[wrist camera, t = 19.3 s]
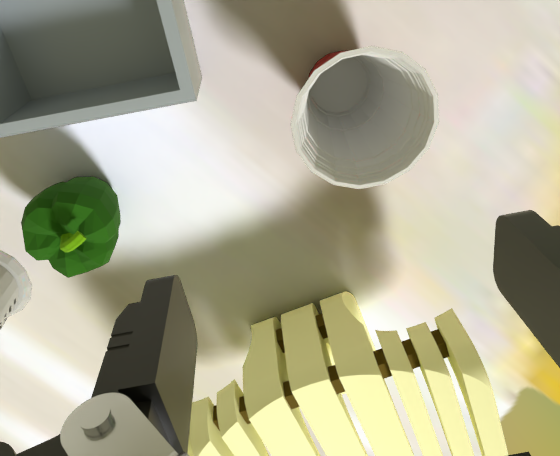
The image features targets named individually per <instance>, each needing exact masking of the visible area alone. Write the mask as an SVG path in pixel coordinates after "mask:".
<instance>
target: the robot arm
mask: <svg viewBox="0 0 560 456" xmlns="http://www.w3.org/2000/svg"><path fill="white" fill-rule="evenodd" d="M493 272H494V278H495V281H496V284H497V286H498V289H499V290H500V292H501V293H502V295H503V296H504V297H505V298H506V300H507V301H508V302H509V304H510V305H511V306H512V307H513V309H514V310H515V311H516V313H517V314H518V315H519V316H520V318H521V319H522V320H523V322H524V323H525V324H526V325H527V327H528V328H529V329H530V330H531V332H532V333H533V334H534V336H535V337H536V338H537V339H538V341H539V342H540V343H541V345H542V346H543V347H544V348H545V350H546V351H547V352H548V354H549V355H550V356H551V357H552V359H553V360H554V361H555V363H556V364H557V365H558V366H559V368H560V226H551V225H549V224H548V223H547V222H546V221H545V220H544V219H543V218H541V217H540V216H539V215H538V214H537V213H536V212H534V211H532V210H528V211H523V212H517V213H512V214H506V215H501V216H499V217H498V218H497V221H496V228H495V245H494V262H493ZM111 336H112V338H110V340H109V344H108V347H107V351H106V353H105V356H104V359H103V363H102V366H101V369H100V372H99V375H98V378H97V382H96V385H95V388H94V391H93V394H92V397H91V399H89V400H87V401H85V402H84V403H82V404H81V405H80V406H78V407H77V408H76V409H75V410H74V411H73V412H72V413H71V414H70V415H69V416H68V418H67V419H66V421H65V422H64V424H63V426H62V429H61V434H59V435H58V436H56V437H54V438H52V439H50V440H48V441H45V442H43V443H41V444H39V445H36V446H34V447H32V448H30V449H28V450H25V451H23V452H21V453H19V454H16V453H15V451H14V450H13V448H12V447H11V446H10V445H9V444H6V443H4V442H0V456H189V455H188V454H187V453H188V442H189V431H190V420H191V409H192V398H193V386H194V375H195V364H196V353H197V335H196V329H195V324H194V321H193V318H192V315H191V311H190V308H189V305H188V302H187V299H186V296H185V293H184V290H183V287H182V284H181V281H180V279H179V277H178V276H177V275H173V276H168V277H162V278H157V279H152V280H147V281H146V283H145V287H144V291H143V294H142V298H141V302H137V303H132V304H128V306H127V307H126V308H125V309H124V310H123V312H122V313H121V314H120V315H119V316H118V318H117V319H116V321H115V325H114V328H113V331H112V334H111ZM508 456H531V455H530V453H529V452H525V453H519V454H513V455H508Z"/></svg>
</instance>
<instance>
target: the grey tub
mask: <svg viewBox="0 0 560 456" xmlns="http://www.w3.org/2000/svg"><path fill="white" fill-rule="evenodd" d="M201 80H202V75H201V70H200V66H199V62H198V58H197V54H196V50H195V45H194V41H193V37H192V33H191V29H190V25H189V20H188V16H187V12H186V8H185V4H184V0H0V138H1V137H7V136H12V135H17V134H23V133H28V132H33V131H38V130H44V129H49V128H54V127H60V126H65V125H70V124H76V123H81V122H86V121H91V120H97V119H102V118H107V117H113V116H118V115H123V114H128V113H134V112H139V111H144V110H150V109H155V108H160V107H165V106H171V105H176V104H181V103H187V102H192V101H197V96H198V92H199V88H200V84H201Z"/></svg>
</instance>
